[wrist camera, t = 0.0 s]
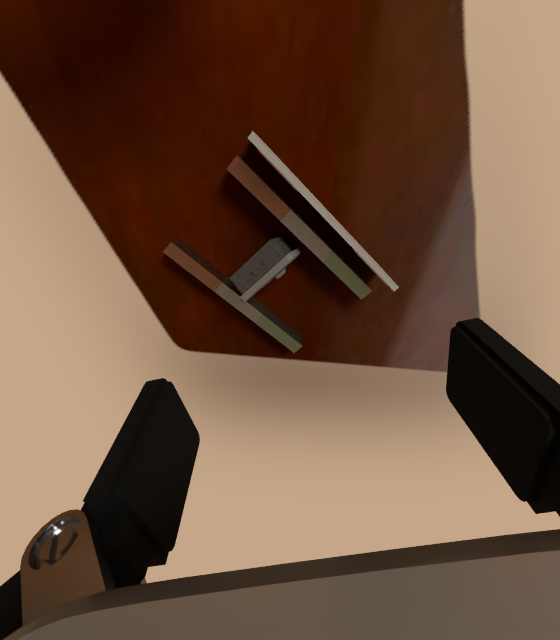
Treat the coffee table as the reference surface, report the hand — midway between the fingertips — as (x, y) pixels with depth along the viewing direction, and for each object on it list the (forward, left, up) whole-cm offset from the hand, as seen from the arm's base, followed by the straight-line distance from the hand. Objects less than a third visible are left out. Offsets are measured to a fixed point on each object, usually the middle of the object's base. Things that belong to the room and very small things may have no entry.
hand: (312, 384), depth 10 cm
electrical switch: (+4, -8, -38) cm, 38 cm away
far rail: (+5, -15, -37) cm, 40 cm away
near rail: (+5, 0, -37) cm, 38 cm away
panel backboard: (+5, +3, -37) cm, 38 cm away
